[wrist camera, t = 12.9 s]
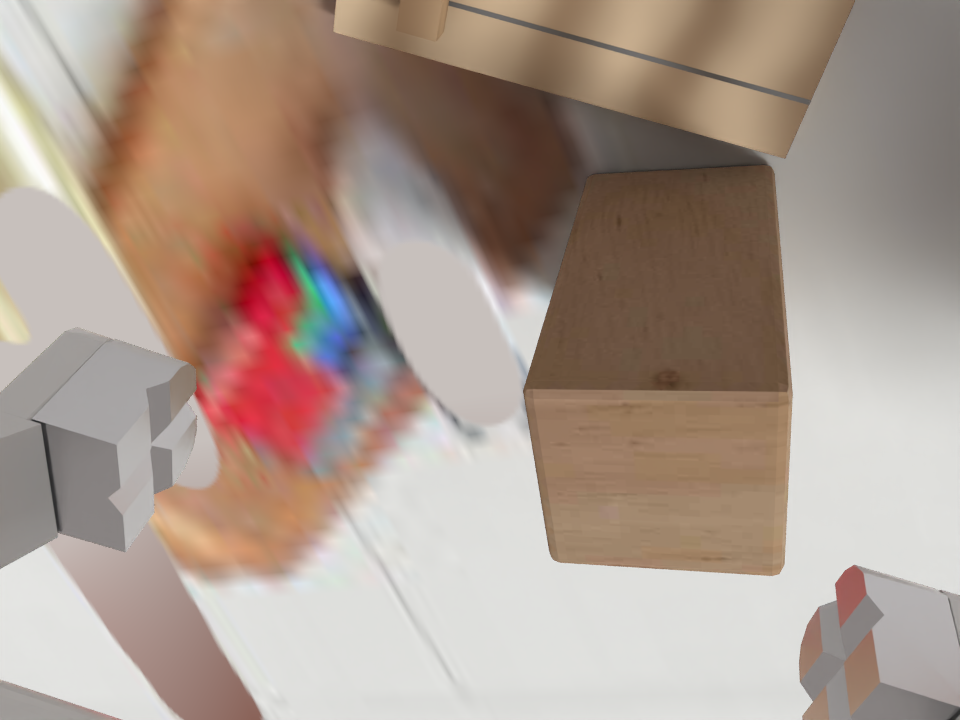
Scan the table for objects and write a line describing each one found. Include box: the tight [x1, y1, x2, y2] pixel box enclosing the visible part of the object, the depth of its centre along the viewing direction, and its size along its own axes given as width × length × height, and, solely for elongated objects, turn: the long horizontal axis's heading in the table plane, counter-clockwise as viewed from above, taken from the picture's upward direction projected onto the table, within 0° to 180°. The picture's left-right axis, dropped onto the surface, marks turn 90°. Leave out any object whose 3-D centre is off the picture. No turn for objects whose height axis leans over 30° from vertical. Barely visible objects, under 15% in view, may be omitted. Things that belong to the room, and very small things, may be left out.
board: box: [333, 0, 855, 158], centre depth 44 cm, size 24×9×2 cm, turn 79°
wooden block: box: [523, 165, 793, 576], centre depth 44 cm, size 10×10×20 cm
